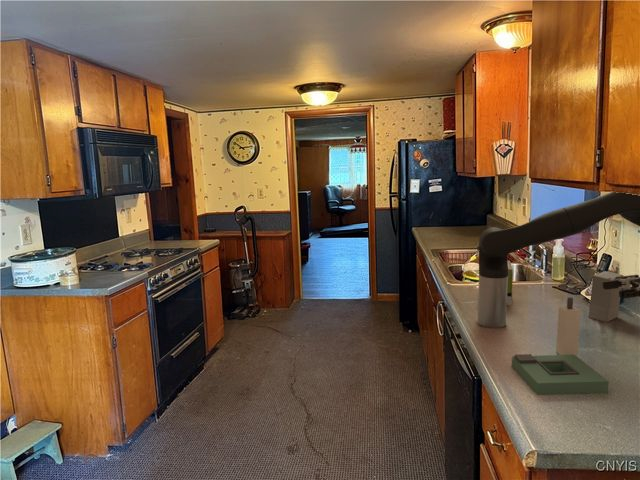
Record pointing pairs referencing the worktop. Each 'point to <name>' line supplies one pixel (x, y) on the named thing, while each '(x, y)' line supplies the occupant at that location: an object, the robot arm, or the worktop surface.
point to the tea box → (509, 284)
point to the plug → (568, 329)
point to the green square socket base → (558, 374)
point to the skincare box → (604, 298)
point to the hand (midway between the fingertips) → (611, 290)
